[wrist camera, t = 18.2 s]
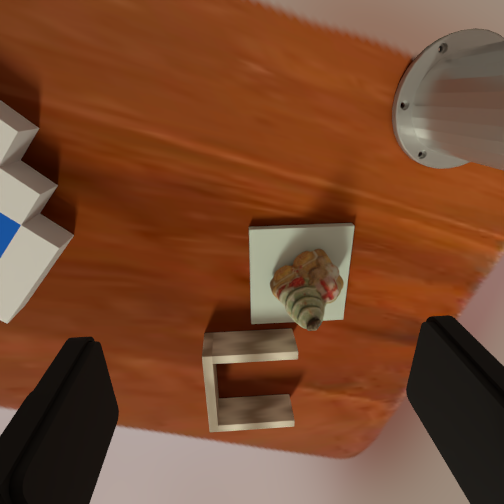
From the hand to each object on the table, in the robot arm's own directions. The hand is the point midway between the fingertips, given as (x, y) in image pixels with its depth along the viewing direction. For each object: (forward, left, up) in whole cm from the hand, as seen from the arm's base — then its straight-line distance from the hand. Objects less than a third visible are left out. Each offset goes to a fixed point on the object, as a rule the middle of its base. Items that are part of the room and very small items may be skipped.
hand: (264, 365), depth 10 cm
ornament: (-7, +12, -28) cm, 31 cm away
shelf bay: (-1, +28, -28) cm, 40 cm away
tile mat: (-7, +13, -28) cm, 32 cm away
